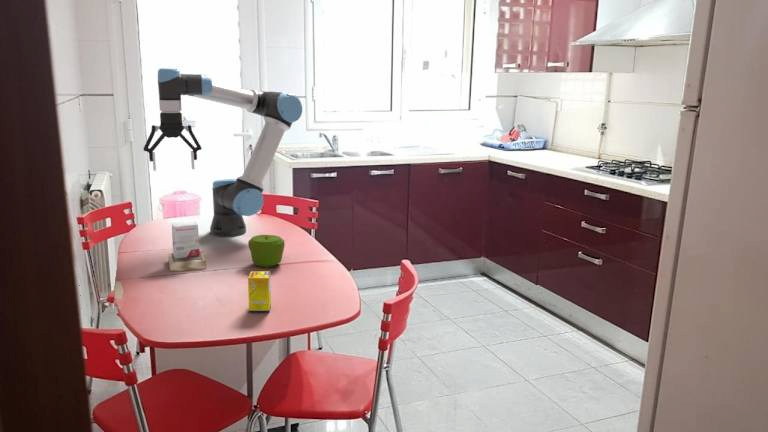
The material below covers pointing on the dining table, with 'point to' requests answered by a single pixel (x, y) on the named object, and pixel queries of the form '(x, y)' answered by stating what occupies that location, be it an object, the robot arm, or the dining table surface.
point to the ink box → (185, 240)
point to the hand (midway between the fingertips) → (174, 169)
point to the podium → (187, 262)
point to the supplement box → (259, 291)
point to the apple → (266, 250)
